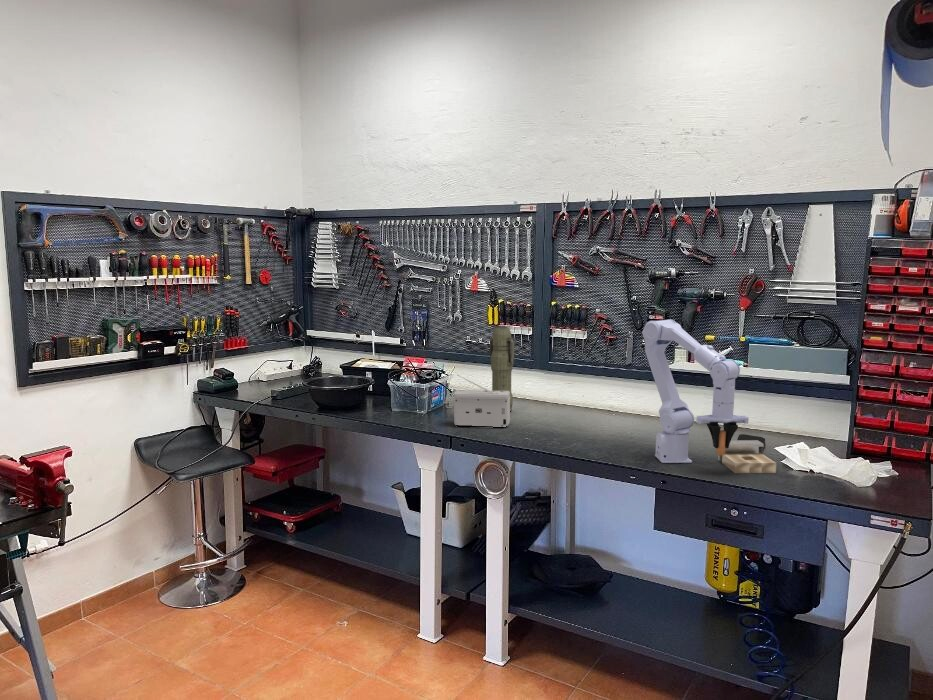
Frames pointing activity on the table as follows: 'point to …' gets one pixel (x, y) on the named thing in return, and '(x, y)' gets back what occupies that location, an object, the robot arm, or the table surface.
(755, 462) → the socket block
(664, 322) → the robot arm
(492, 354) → the olive green jumpsuit
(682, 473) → the table surface
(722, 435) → the peg
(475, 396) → the stereo radio cassette player
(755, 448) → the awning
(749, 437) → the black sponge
